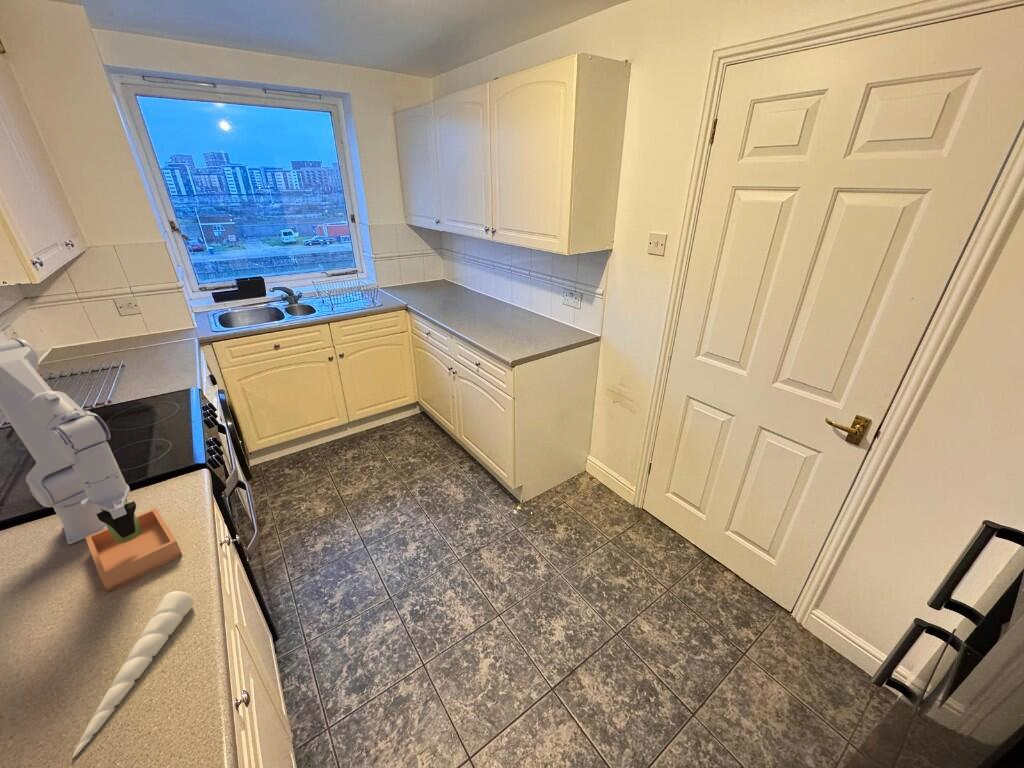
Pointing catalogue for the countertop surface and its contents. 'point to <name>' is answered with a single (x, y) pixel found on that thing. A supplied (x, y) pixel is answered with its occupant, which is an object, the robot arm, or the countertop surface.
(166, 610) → the unicorn horn
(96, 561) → the terracotta bin
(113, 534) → the cucumber piece
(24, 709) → the countertop surface
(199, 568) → the countertop surface
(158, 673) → the countertop surface
